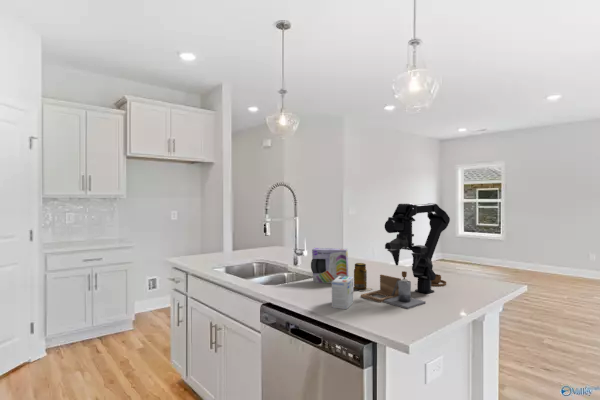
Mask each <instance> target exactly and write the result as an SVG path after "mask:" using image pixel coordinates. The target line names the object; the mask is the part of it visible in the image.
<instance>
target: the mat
mask: <svg viewBox="0 0 600 400" xmlns="http://www.w3.org/2000/svg"><path fill="white" fill-rule="evenodd" d="M383 303H386V304H389V305H393V306H395V307H400V308H403V309H407V310H409V309H412V308H413V309H414V308H417V307H419V306H422V305H425V304H426V301H425V300H421V299H417V298H413V297H411V302H408V303H405V302H400V301H398V296H397V297H393V298H390V299H386V300H384V302H383Z"/></svg>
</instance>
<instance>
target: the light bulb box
mask: <svg viewBox="0 0 600 400" xmlns="http://www.w3.org/2000/svg"><path fill="white" fill-rule="evenodd" d="M353 287H354V276H349V277H346V276H338V277H337V278H336V279H335V280H333V281H332V283H331V308H334V309H342V310H348V309H349V308H350V307H351V305H352V304H353V303H354V289H353Z"/></svg>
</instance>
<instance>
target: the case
mask: <svg viewBox="0 0 600 400" xmlns="http://www.w3.org/2000/svg"><path fill="white" fill-rule="evenodd" d="M400 280H402V279H401V278H399V277H394V276H392V275H391V276H390V275H387V274H386V275H385V274H379V289H378V290H374V291H373V290H372V291H370V292H367V293H361V294H360V298H365V299H367V300H370V301H374V302H376V303H377V302H378V303H385V302H384V300H386V299H390V298H393V297H397V296H398V281H400ZM375 295H380V296H384V297H381V298H380V297H376V296H375Z"/></svg>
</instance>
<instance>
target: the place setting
mask: <svg viewBox="0 0 600 400" xmlns="http://www.w3.org/2000/svg"><path fill="white" fill-rule="evenodd" d="M435 274H436V278H435V279H434V280H431V287H444V286H446V285H447V281H446V280H443V279H442V275H440V274H438V273H435ZM407 276H408V273H407V271H401V277H402V278H403V279H406V278H407ZM415 286H417V284H416V283H415Z"/></svg>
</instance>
